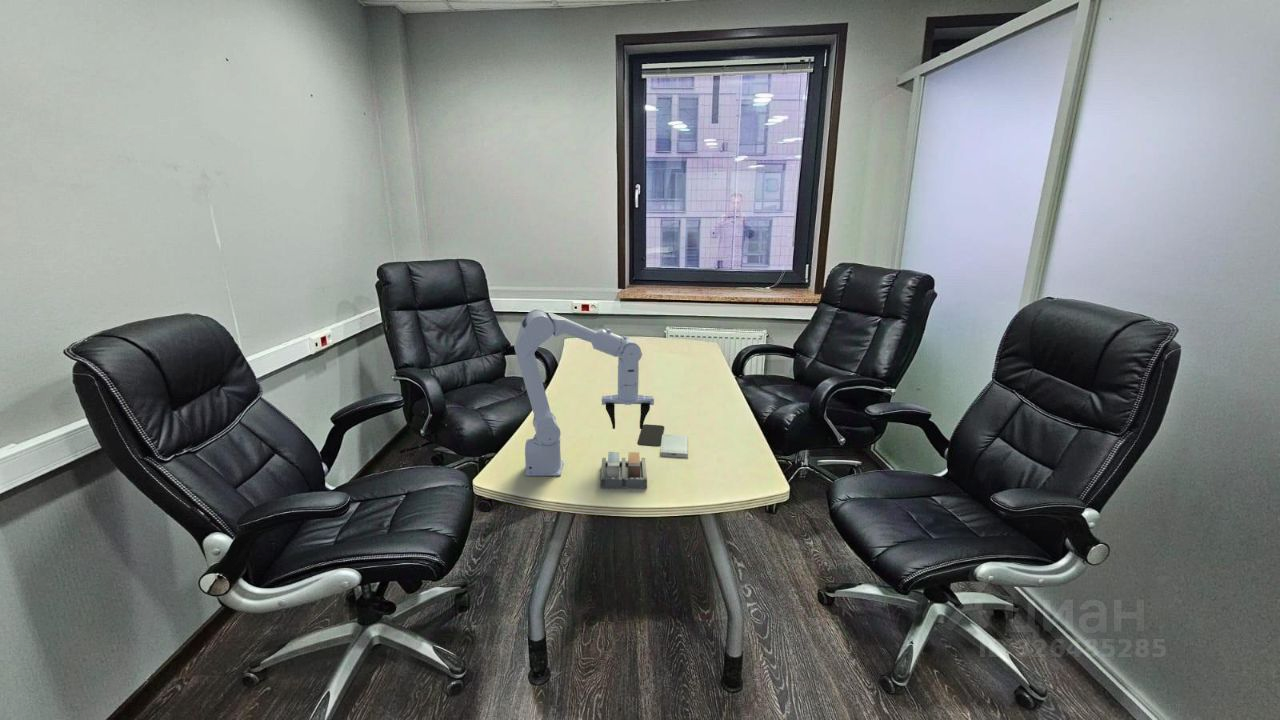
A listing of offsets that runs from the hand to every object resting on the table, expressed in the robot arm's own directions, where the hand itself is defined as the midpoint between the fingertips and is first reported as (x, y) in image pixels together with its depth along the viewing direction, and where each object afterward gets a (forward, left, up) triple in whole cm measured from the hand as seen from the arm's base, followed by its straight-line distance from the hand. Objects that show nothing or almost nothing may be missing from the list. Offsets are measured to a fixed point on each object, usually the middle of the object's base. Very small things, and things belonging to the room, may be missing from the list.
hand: (627, 427), depth 148 cm
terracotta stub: (+2, -10, -9) cm, 14 cm away
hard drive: (+14, +8, -10) cm, 19 cm away
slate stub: (-4, -9, -9) cm, 14 cm away
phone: (+8, +16, -11) cm, 21 cm away
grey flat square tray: (-1, -10, -10) cm, 14 cm away
